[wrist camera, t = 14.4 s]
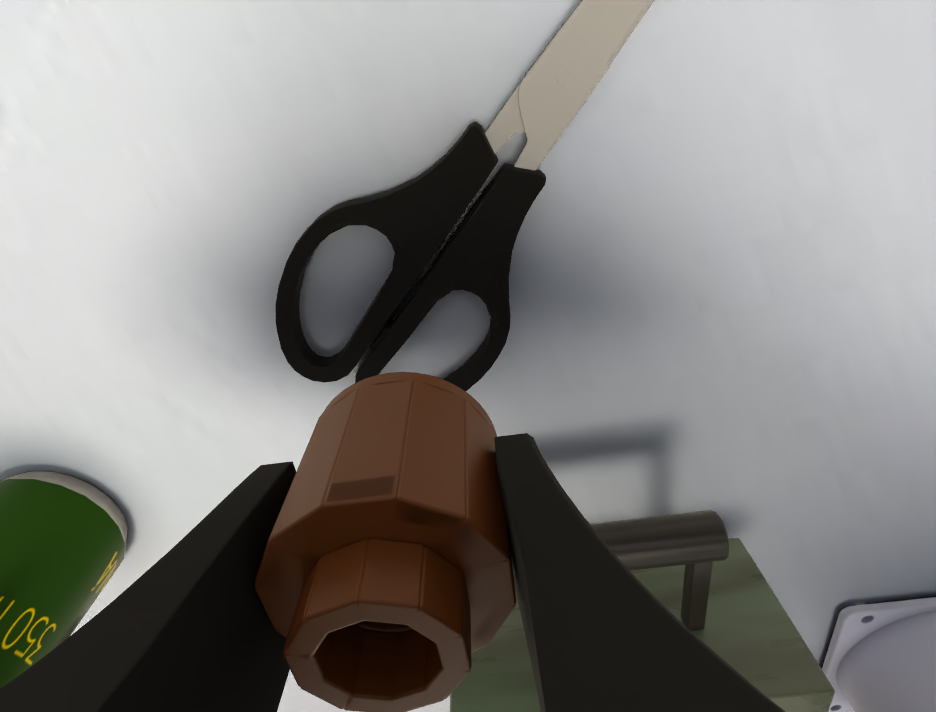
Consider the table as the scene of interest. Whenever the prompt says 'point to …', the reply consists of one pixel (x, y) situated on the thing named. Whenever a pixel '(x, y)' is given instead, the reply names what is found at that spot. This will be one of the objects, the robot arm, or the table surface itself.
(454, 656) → the spice bottle
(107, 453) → the table surface
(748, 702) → the robot arm
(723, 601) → the drawer
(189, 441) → the table surface
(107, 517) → the beer can
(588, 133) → the table surface
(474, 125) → the scissors
